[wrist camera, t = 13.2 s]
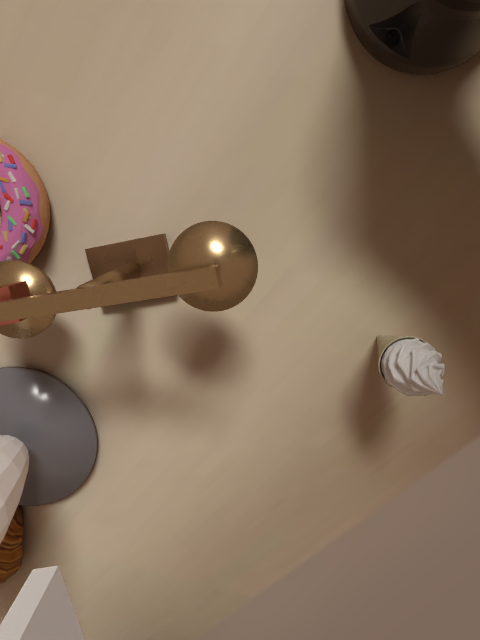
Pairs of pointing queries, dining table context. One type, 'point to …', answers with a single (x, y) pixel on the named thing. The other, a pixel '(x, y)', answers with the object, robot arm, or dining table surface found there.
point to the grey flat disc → (47, 432)
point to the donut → (21, 207)
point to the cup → (11, 478)
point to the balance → (135, 277)
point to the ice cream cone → (410, 365)
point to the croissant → (12, 546)
